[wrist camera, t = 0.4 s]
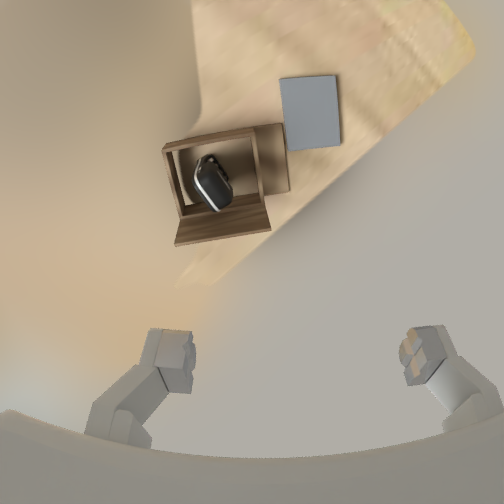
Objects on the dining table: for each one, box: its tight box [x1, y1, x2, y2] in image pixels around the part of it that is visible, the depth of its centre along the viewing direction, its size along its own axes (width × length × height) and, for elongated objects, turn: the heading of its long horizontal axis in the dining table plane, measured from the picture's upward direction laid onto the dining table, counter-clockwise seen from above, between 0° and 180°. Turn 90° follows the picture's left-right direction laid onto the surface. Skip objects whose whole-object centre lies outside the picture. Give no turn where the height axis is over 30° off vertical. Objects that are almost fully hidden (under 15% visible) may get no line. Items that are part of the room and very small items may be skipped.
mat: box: [279, 76, 340, 151], centre depth 49 cm, size 13×10×1 cm
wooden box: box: [162, 123, 289, 247], centre depth 49 cm, size 14×20×12 cm
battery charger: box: [192, 155, 233, 213], centre depth 49 cm, size 7×4×11 cm, turn 31°
